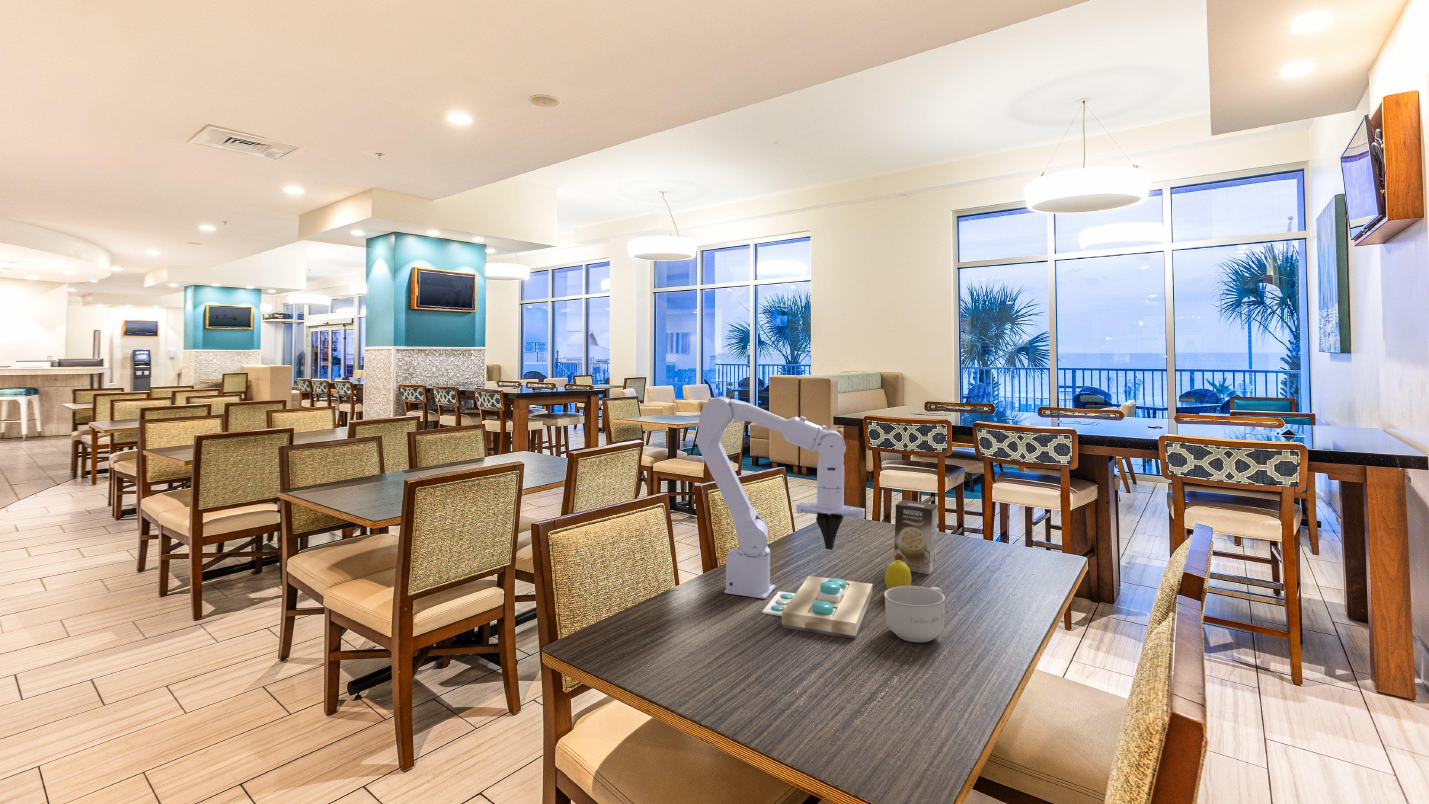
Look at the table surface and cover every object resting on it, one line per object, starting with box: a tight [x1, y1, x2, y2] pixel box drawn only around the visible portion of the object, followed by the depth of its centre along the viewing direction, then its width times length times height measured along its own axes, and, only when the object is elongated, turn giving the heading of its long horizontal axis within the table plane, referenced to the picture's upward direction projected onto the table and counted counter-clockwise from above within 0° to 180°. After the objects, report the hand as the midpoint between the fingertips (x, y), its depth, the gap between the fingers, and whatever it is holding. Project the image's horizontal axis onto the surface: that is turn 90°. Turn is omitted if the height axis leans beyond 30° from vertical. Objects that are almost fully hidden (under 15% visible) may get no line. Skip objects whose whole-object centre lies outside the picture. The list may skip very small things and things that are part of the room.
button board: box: [781, 575, 874, 640], centre depth 128 cm, size 14×22×3 cm, turn 158°
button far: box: [827, 577, 849, 591], centre depth 135 cm, size 4×4×3 cm
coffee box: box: [893, 499, 939, 575], centre depth 155 cm, size 9×6×16 cm
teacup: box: [883, 585, 946, 643], centre depth 118 cm, size 14×11×8 cm
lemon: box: [884, 560, 912, 590], centre depth 137 cm, size 6×6×8 cm
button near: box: [810, 601, 836, 616], centre depth 122 cm, size 4×4×3 cm
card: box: [762, 591, 796, 617], centre depth 132 cm, size 5×12×1 cm, turn 158°
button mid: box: [817, 582, 843, 603], centre depth 128 cm, size 4×4×3 cm
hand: (829, 548), depth 137 cm, fingers closed
